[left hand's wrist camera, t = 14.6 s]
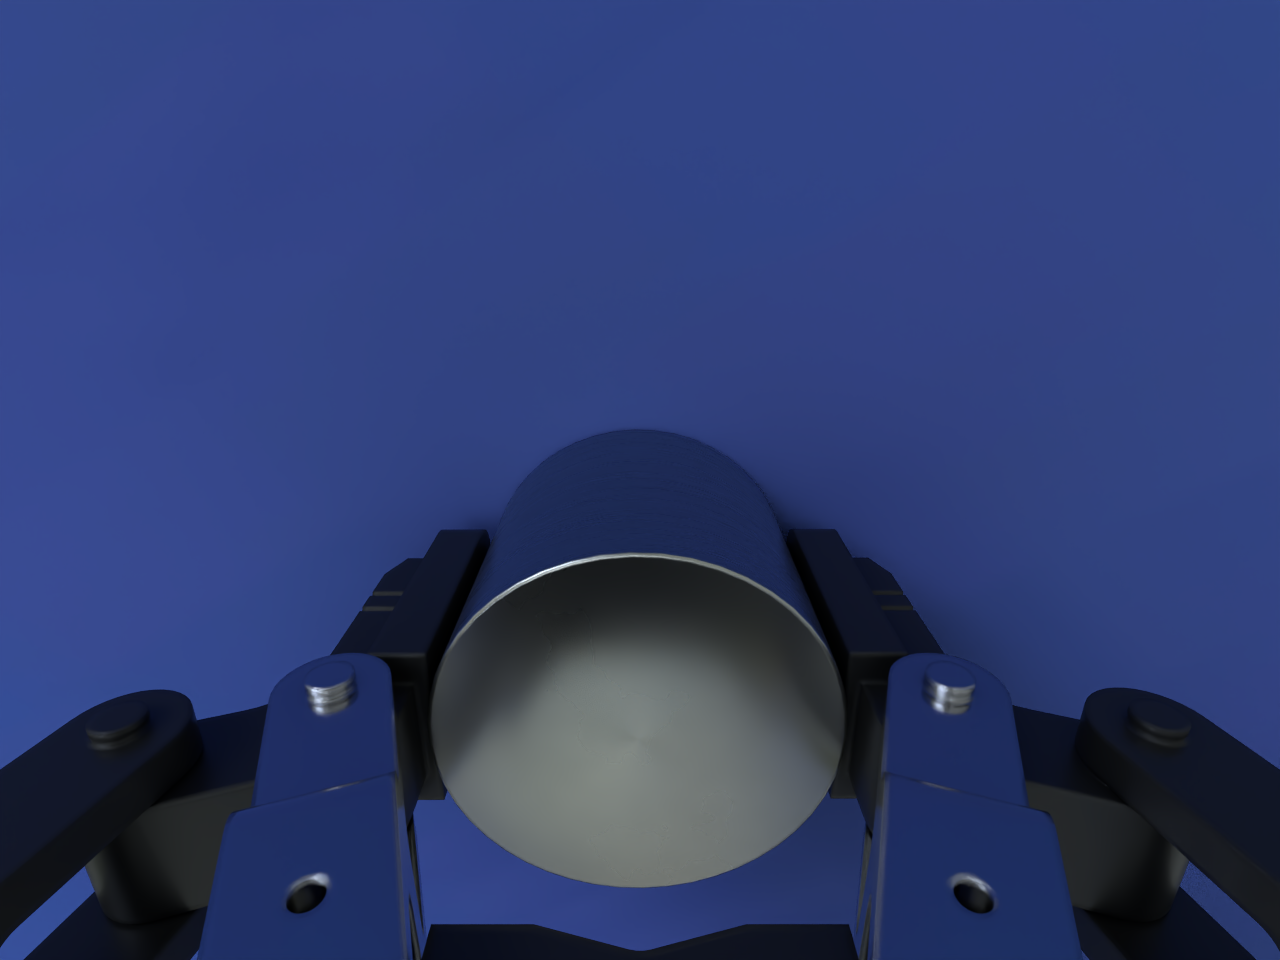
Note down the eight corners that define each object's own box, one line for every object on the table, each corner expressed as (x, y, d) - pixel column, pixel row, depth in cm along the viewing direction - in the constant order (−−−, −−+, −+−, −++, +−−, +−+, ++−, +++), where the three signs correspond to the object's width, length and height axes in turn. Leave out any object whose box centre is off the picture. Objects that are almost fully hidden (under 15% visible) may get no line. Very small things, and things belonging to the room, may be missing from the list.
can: (500, 414, 11) (424, 532, 7) (806, 444, 12) (893, 575, 8) (491, 669, 13) (426, 875, 9) (755, 692, 13) (804, 903, 9)
